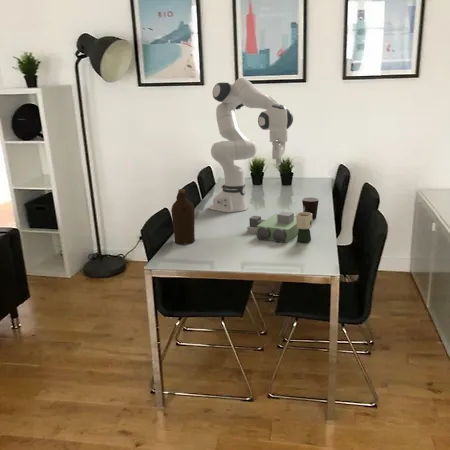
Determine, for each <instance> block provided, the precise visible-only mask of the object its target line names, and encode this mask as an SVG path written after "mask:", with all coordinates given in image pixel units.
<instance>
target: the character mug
mask: <svg viewBox="0 0 450 450" xmlns="http://www.w3.org/2000/svg"><path fill="white" fill-rule="evenodd" d="M295 216H296V227H297V228H299V230H298V235H297V236H296V237H297V238H296V240H297V241H298V242H303V243H305V242H307V243H310V242H311V241H312V237H311V236H312V235H311V228H313V219H312V213H309V212H303V211H302V212H301V211H300V212H297V213H296V215H295Z"/></svg>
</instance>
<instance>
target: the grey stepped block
mask: <svg viewBox="0 0 450 450" xmlns="http://www.w3.org/2000/svg"><path fill="white" fill-rule="evenodd" d="M265 220H266V219H262V216H259V215H253V216H250V217H249V227H256V228H257V225H259V224H260V223H262V222H263V221H265Z"/></svg>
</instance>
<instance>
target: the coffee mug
mask: <svg viewBox="0 0 450 450" xmlns="http://www.w3.org/2000/svg"><path fill="white" fill-rule="evenodd" d="M319 200H320V199H319V197H315V196H314V197H313V196H311V197H309V196H307V197H304V198H302V199H301V202H302V212H309V213H312V220H315V218H316V219H317V215H318V208H319Z"/></svg>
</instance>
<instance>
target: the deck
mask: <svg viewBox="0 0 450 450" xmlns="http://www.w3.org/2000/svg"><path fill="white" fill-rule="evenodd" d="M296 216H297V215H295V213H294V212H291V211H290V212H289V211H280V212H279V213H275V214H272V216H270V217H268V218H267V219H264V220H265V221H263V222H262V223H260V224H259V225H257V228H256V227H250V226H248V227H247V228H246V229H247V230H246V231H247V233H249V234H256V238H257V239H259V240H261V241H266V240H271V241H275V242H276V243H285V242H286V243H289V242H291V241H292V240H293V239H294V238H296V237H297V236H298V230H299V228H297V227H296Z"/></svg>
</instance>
